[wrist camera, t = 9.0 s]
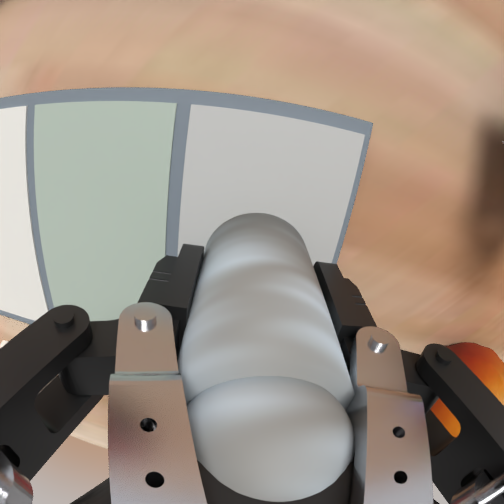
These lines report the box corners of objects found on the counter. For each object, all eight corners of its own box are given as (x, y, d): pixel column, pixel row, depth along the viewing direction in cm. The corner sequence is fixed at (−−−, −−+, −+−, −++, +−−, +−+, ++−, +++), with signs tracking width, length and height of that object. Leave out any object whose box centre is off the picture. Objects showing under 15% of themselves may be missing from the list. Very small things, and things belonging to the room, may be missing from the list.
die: (47, 354, 16) (19, 405, 12) (62, 392, 18) (41, 439, 14) (3, 339, 15) (-26, 383, 12) (21, 377, 17) (-2, 418, 13)
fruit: (373, 364, 14) (495, 451, 8) (446, 299, 17) (541, 354, 11) (349, 439, 18) (430, 507, 11) (417, 379, 21) (489, 429, 15)
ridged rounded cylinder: (318, 221, 11) (432, 485, 3) (294, 308, 13) (333, 541, 5) (209, 205, 11) (129, 493, 3) (200, 297, 13) (159, 537, 4)
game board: (368, 121, 10) (374, 123, 10) (298, 363, 16) (299, 371, 15) (-45, 108, 9) (-52, 109, 8) (-15, 303, 14) (-20, 308, 14)
